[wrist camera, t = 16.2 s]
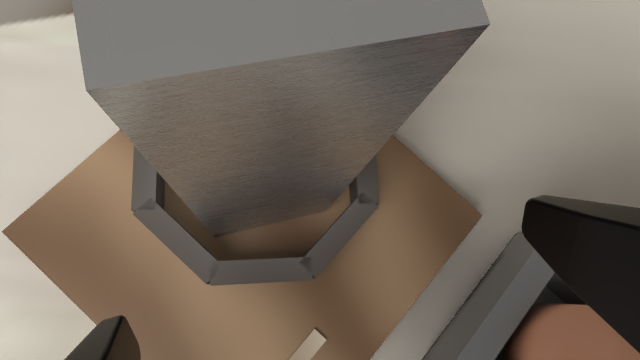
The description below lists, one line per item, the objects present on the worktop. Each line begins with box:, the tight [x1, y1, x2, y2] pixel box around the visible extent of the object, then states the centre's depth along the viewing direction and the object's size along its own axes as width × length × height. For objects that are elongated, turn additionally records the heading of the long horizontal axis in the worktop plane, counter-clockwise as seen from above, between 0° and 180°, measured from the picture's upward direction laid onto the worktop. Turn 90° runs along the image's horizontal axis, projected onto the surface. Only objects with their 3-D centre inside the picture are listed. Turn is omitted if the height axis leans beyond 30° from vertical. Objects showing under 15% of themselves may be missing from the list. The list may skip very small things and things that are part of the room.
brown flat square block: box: [2, 130, 482, 360], centre depth 17 cm, size 13×13×3 cm
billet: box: [72, 0, 490, 237], centre depth 11 cm, size 4×4×13 cm
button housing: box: [423, 233, 587, 360], centre depth 17 cm, size 7×7×2 cm
